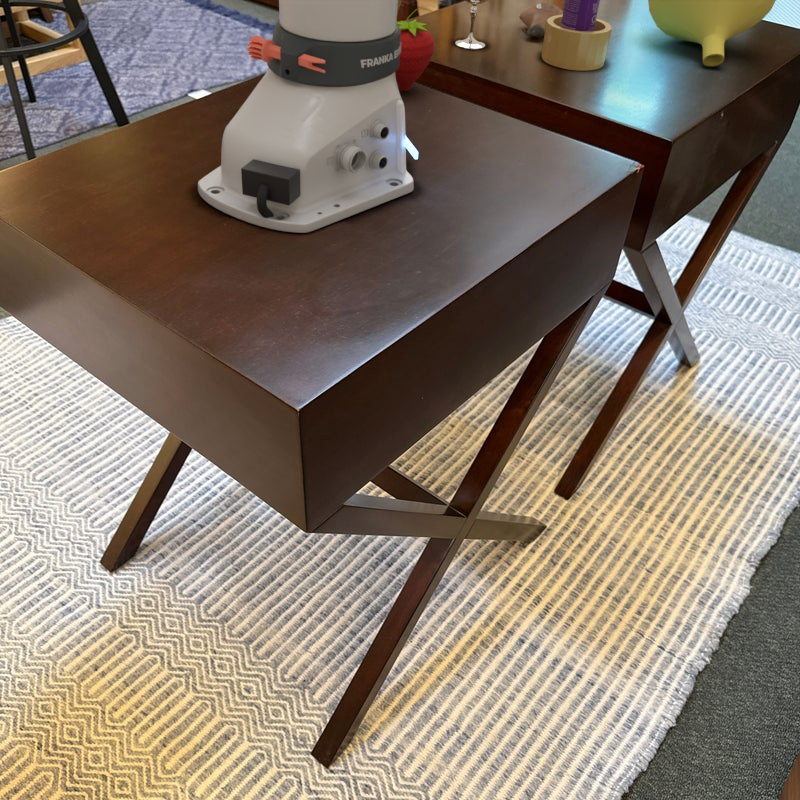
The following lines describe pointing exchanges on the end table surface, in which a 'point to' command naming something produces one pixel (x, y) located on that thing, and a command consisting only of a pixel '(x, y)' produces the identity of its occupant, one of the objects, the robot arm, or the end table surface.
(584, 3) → the container
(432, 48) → the strawberry
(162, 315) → the end table surface
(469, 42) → the wineglass
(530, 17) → the oil lamp
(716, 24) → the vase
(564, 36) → the tape roll
